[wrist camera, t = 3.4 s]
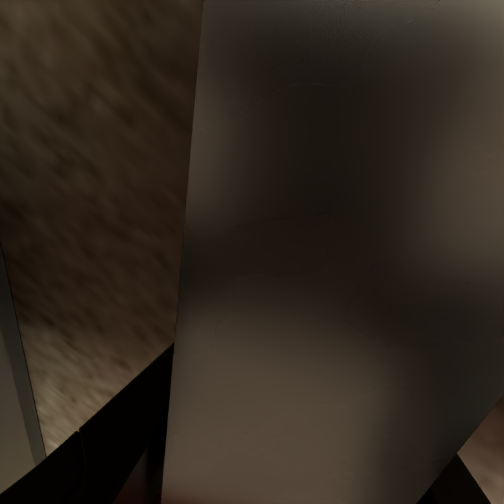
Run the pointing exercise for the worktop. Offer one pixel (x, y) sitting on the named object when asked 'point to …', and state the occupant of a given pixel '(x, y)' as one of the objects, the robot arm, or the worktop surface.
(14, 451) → the tray
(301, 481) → the red capped grey bar
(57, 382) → the worktop surface
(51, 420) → the worktop surface
